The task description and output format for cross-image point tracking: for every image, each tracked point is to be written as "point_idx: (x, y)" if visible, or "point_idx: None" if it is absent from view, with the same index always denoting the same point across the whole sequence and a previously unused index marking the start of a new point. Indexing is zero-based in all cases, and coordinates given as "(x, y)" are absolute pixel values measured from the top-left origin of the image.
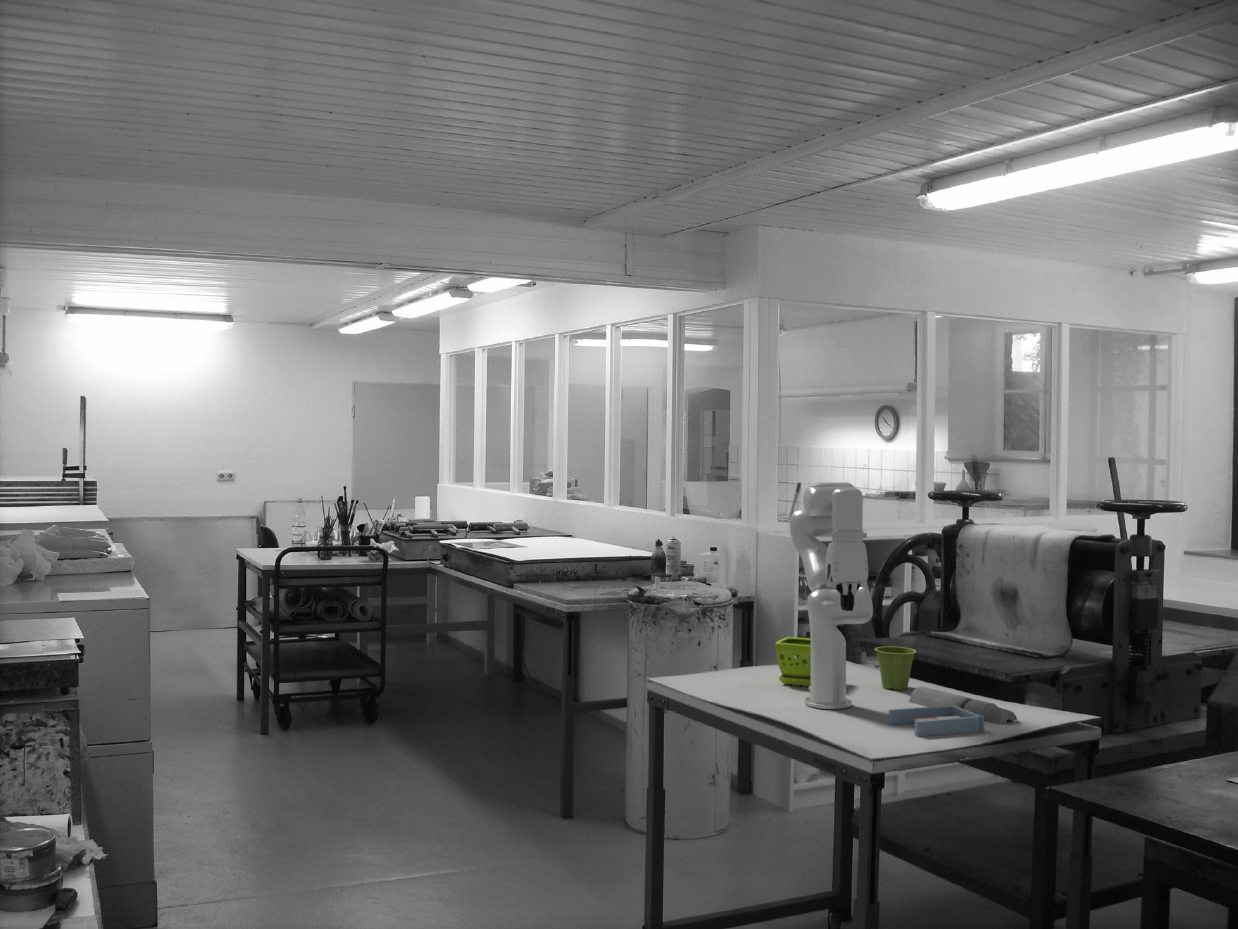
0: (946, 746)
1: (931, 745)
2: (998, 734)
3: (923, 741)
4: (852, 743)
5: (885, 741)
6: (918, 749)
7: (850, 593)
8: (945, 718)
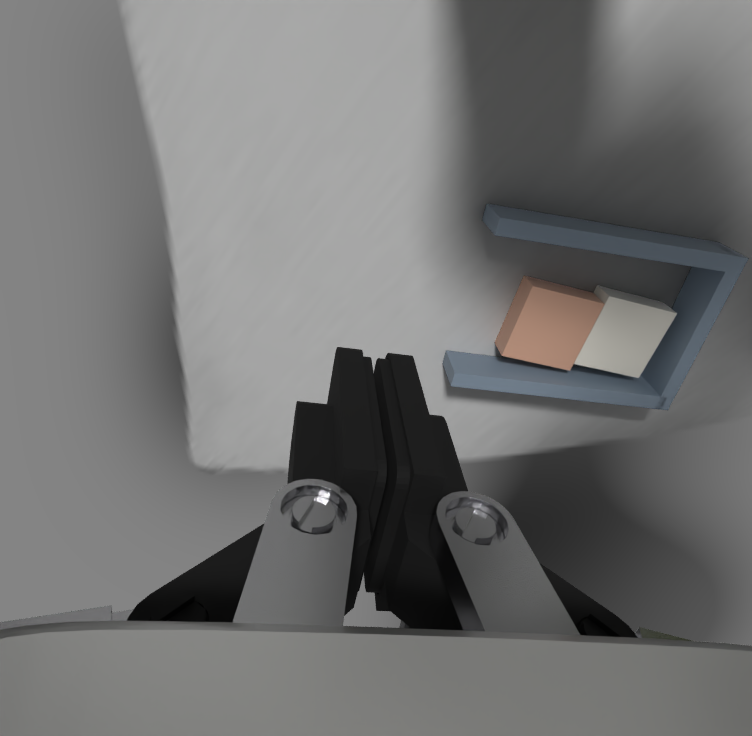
0: None
1: None
2: (646, 421)
3: None
4: (217, 347)
5: (323, 366)
6: None
7: (398, 596)
8: (615, 324)
